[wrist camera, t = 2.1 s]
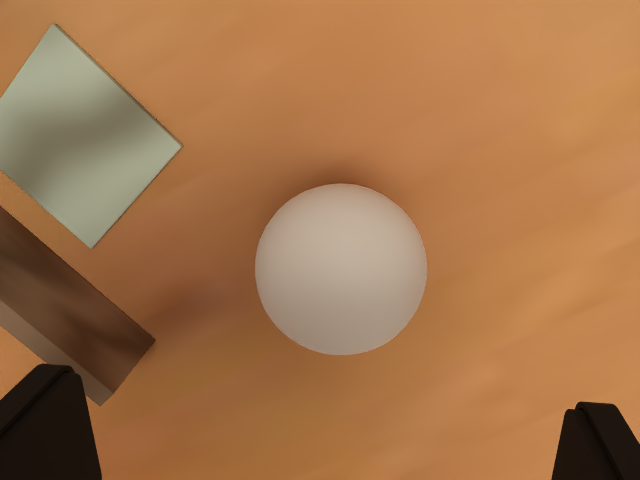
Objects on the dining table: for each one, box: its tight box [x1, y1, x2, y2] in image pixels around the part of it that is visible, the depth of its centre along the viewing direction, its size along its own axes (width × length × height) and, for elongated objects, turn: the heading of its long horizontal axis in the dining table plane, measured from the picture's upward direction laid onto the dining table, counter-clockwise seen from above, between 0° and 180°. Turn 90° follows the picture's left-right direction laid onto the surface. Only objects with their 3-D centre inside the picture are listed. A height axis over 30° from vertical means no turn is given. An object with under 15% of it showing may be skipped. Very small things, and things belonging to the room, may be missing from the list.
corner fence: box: [0, 24, 183, 406], centre depth 24 cm, size 18×18×5 cm
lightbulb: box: [255, 183, 427, 356], centre depth 21 cm, size 6×6×11 cm
